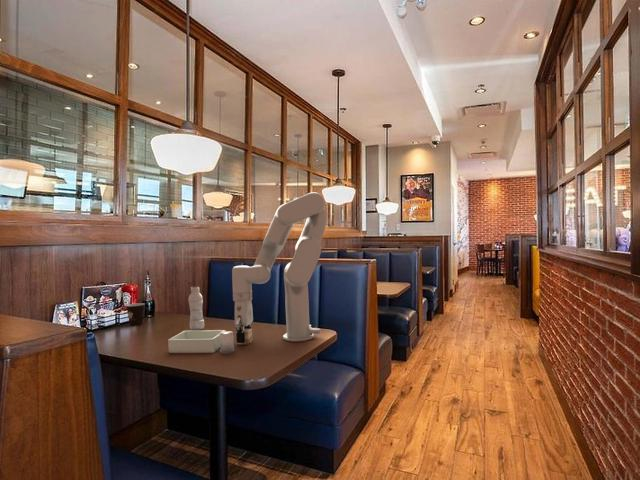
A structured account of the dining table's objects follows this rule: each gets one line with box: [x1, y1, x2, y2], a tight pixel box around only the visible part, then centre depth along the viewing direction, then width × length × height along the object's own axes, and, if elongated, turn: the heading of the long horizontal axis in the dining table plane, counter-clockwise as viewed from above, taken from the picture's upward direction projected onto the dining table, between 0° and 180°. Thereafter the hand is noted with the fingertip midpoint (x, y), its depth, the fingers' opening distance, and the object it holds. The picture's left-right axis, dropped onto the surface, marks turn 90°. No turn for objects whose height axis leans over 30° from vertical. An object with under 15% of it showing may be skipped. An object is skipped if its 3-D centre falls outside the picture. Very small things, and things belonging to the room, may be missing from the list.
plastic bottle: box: [187, 286, 205, 331], centre depth 182 cm, size 6×7×20 cm
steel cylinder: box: [219, 330, 235, 355], centre depth 146 cm, size 5×5×7 cm
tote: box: [167, 329, 227, 354], centre depth 153 cm, size 18×14×5 cm
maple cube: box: [236, 328, 253, 345], centre depth 158 cm, size 5×5×5 cm
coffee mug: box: [126, 302, 149, 327], centre depth 198 cm, size 12×9×10 cm
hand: (244, 339), depth 158 cm, fingers open, 8 cm apart
